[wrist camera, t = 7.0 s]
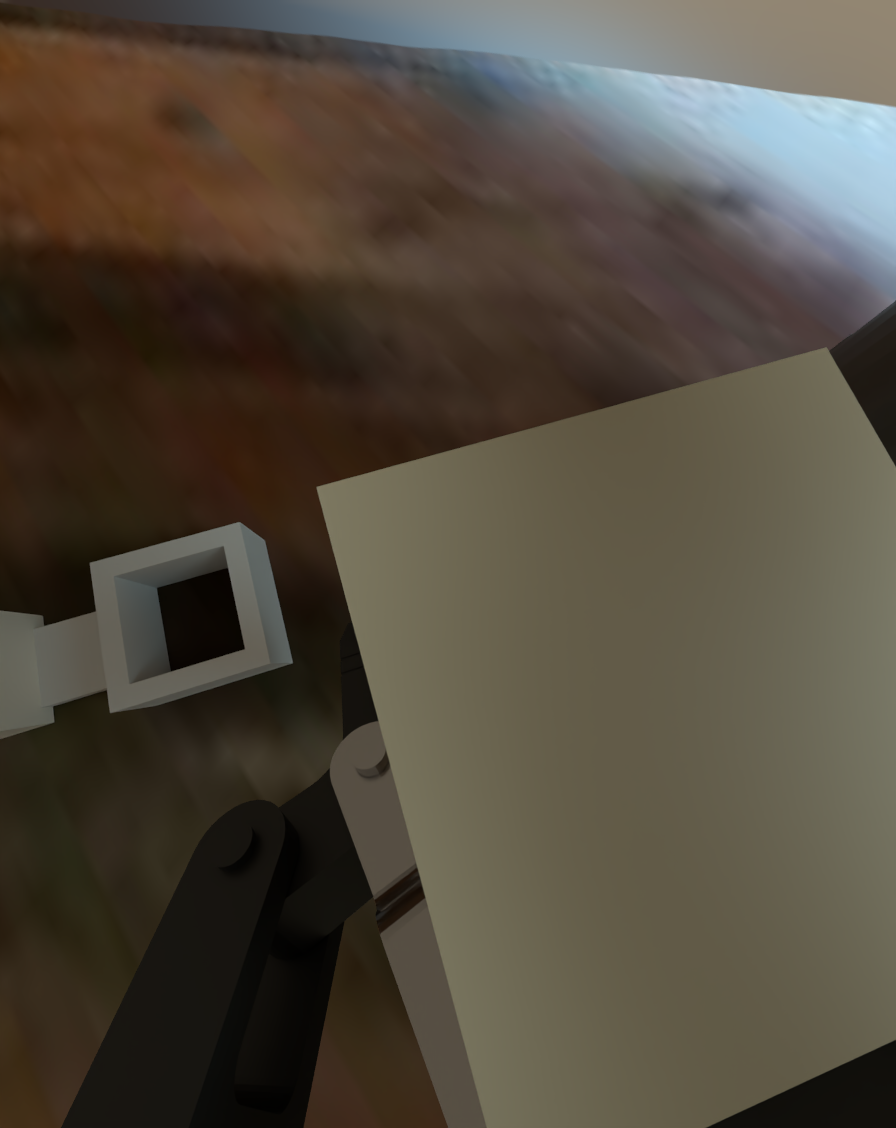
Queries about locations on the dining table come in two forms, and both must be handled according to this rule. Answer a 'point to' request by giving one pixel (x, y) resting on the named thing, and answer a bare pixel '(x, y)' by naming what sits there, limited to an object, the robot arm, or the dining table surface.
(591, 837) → the block
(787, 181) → the dining table surface
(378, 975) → the dining table surface
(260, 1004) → the robot arm
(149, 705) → the post
